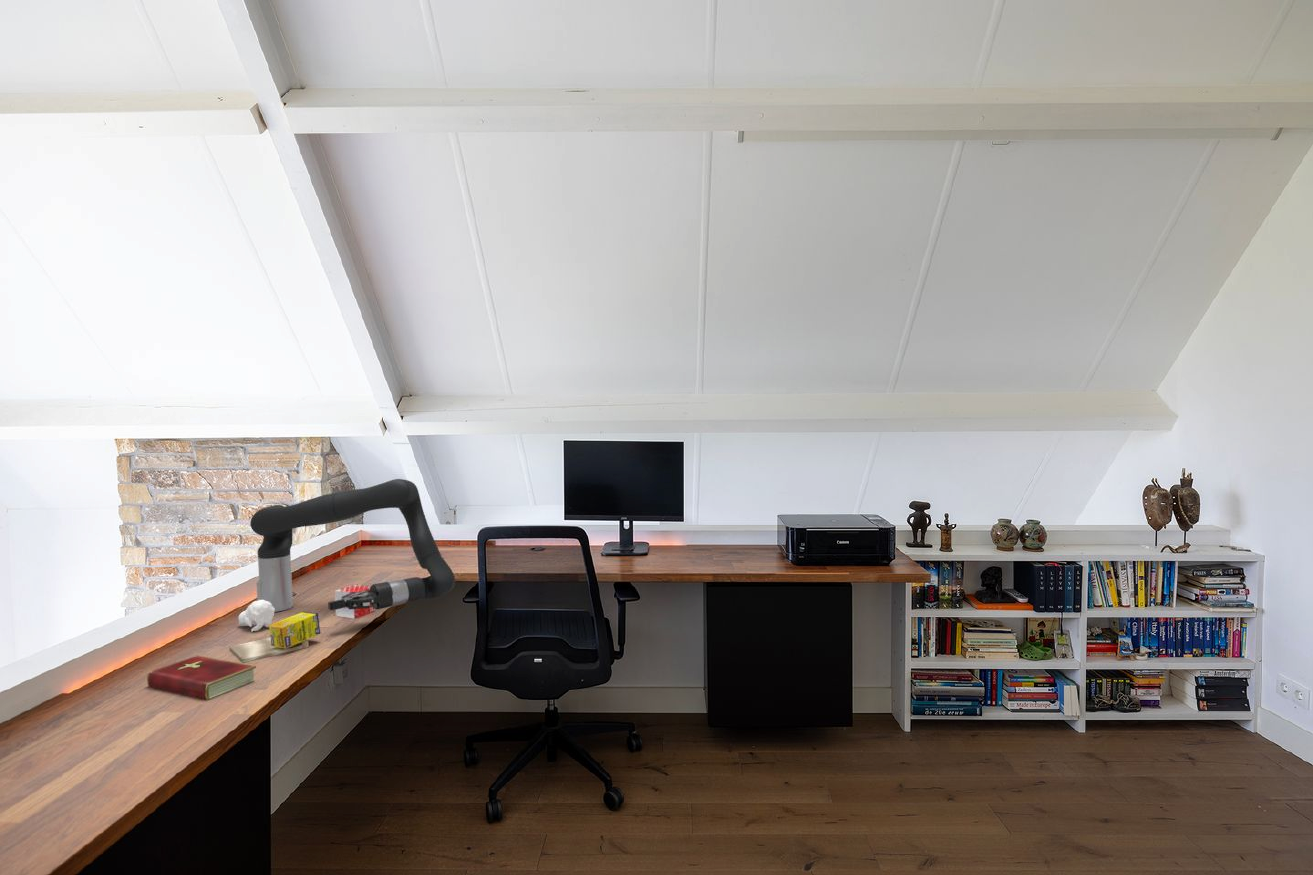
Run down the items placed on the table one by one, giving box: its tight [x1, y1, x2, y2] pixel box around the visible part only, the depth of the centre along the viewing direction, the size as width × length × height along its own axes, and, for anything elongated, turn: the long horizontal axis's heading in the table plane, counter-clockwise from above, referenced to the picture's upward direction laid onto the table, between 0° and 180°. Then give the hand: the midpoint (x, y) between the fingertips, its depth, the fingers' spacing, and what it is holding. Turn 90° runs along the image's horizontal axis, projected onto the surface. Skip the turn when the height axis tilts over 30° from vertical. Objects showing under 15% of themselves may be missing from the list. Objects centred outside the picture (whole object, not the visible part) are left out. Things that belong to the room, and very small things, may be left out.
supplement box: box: [268, 611, 321, 649], centre depth 191 cm, size 6×6×11 cm
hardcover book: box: [146, 654, 257, 701], centre depth 167 cm, size 12×21×4 cm, turn 66°
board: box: [229, 637, 309, 664], centre depth 191 cm, size 16×14×2 cm
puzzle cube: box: [334, 584, 375, 619], centre depth 222 cm, size 8×8×8 cm
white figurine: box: [238, 600, 275, 633], centre depth 209 cm, size 6×8×12 cm
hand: (329, 606), depth 201 cm, fingers closed
